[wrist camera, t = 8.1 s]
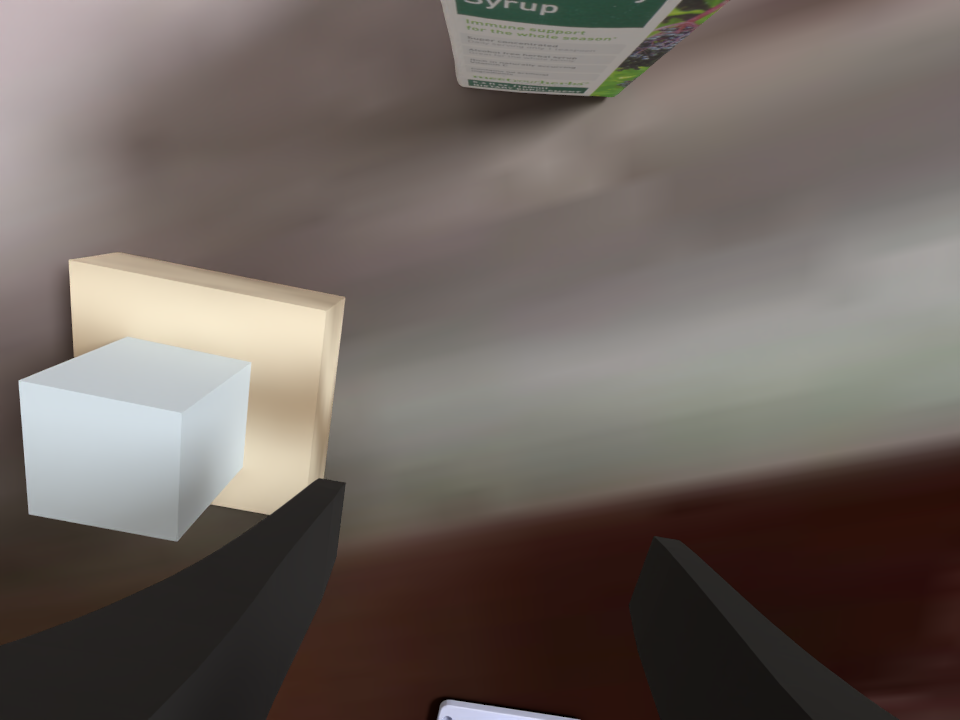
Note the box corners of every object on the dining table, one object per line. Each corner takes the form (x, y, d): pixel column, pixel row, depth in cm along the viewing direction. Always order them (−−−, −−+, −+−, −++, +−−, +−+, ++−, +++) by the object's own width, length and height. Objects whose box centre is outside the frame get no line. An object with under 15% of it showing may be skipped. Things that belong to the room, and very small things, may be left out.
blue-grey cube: (242, 466, 20) (177, 541, 16) (127, 444, 20) (28, 514, 15) (251, 362, 19) (181, 413, 14) (127, 336, 18) (18, 380, 14)
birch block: (325, 481, 24) (303, 520, 21) (130, 446, 23) (80, 481, 20) (348, 295, 21) (326, 310, 18) (127, 250, 20) (68, 259, 17)
